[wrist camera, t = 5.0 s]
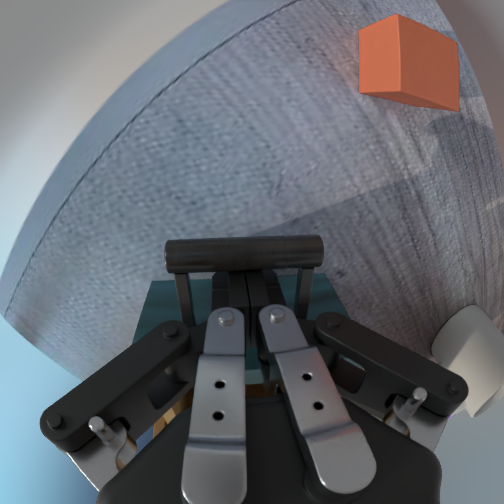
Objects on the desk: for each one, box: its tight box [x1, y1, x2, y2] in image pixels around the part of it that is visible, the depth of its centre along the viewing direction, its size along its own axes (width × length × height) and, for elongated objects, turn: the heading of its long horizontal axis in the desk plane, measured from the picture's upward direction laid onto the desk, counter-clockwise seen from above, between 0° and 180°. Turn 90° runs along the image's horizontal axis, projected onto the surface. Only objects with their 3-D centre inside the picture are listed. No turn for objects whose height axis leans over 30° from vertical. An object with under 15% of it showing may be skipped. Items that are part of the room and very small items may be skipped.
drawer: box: [132, 235, 363, 424], centre depth 16 cm, size 18×11×7 cm, turn 0°
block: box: [359, 14, 459, 112], centre depth 11 cm, size 4×4×4 cm
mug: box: [431, 305, 504, 418], centre depth 21 cm, size 12×8×11 cm
